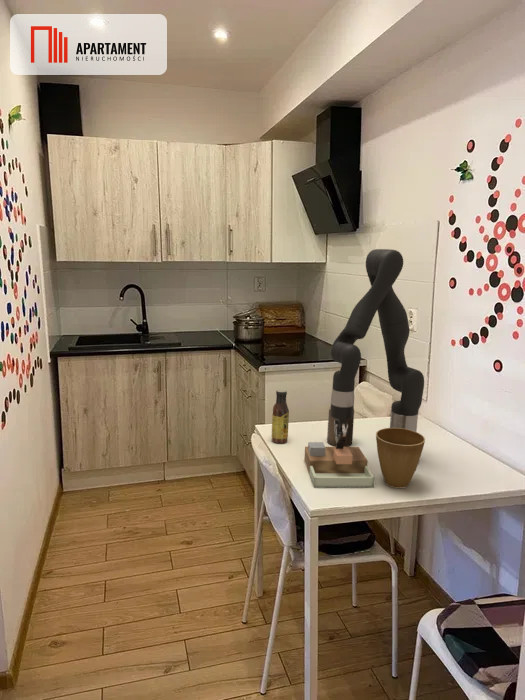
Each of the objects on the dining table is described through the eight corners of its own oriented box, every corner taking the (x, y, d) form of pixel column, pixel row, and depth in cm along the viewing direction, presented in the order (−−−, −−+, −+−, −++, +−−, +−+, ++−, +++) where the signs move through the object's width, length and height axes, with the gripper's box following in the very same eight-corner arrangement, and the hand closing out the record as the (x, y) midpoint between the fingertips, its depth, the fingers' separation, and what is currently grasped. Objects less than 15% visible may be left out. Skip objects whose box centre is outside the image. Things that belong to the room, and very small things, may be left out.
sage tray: (366, 475, 169) (367, 465, 169) (374, 487, 160) (374, 477, 160) (309, 474, 168) (309, 465, 167) (313, 487, 159) (314, 477, 159)
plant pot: (368, 472, 171) (372, 426, 168) (413, 474, 171) (417, 428, 168) (377, 493, 157) (381, 443, 154) (426, 495, 156) (431, 445, 153)
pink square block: (348, 457, 170) (348, 448, 170) (351, 464, 166) (352, 455, 165) (333, 457, 170) (333, 448, 169) (336, 464, 165) (337, 455, 164)
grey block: (322, 450, 176) (322, 442, 175) (325, 456, 171) (325, 447, 170) (307, 450, 175) (308, 442, 175) (310, 456, 171) (310, 447, 170)
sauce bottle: (286, 444, 193) (288, 393, 189) (270, 443, 194) (271, 392, 191) (288, 438, 200) (291, 389, 196) (273, 437, 201) (274, 388, 197)
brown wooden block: (357, 460, 181) (358, 446, 180) (366, 475, 169) (367, 460, 168) (304, 460, 180) (304, 446, 179) (309, 474, 168) (310, 460, 167)
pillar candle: (354, 447, 193) (356, 409, 190) (327, 446, 193) (330, 408, 190) (350, 438, 202) (352, 401, 199) (325, 437, 202) (327, 400, 200)
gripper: (358, 409, 162) (354, 460, 165) (349, 396, 175) (346, 445, 178) (334, 408, 161) (331, 460, 165) (327, 396, 174) (324, 444, 178)
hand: (339, 452), depth 172 cm, fingers closed
